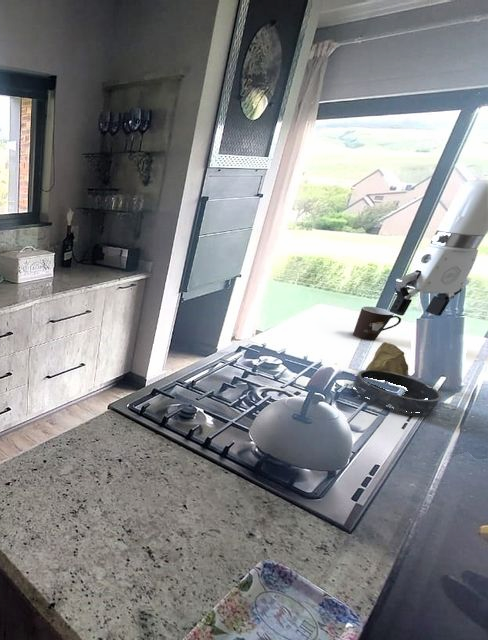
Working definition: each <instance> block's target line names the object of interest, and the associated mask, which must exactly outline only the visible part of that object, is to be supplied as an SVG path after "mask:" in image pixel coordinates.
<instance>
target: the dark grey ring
mask: <svg viewBox="0 0 488 640" xmlns="http://www.w3.org/2000/svg"><path fill="white" fill-rule="evenodd" d="M364 377H368V378H373V379H377V380H385V381H388V382H390V383H393V384H396V385H401V386H404V387H406V388H407V390H408V391H406V392H405V394H404V395H402V396H399V395H396V394H392V393H390V392H388V391H386V390H385V389H383V388H380V387H378V386H376V385H373V384H370V383H369V382H366V381H365V380H364V379H363V378H364ZM352 385H353V387H355V388H356V389H357V390H358V392H359V393H357V392H356V391H355V390H354V389H353V387H352ZM350 391H351V392H352V394H353V395H354V396H356V397H357V398H359V399H360V400H361V401H363V402H365V403H367V404H368V405H371V406H373V407H376V408H378V409H381V410H384V411H387V412H391V413H393V414H398V415H402V416H408V417H428V416H430V415H431V414H432V413H433V412H434V410H436V407H437V406H438V405H439V404H440V401H442V400H443V396H442V393H440V392H439V391H438V390H437V389H436V388H434V387H433V386H431V385H429V384H427V383H425V382H423V381H420V380H419V379H415V378H413V377H410V376H408V377H407V376H404V375H400V374H396V373H392V372H386V371H380V370H366V369H363V370H360V371H359V372H358V373H357V374H356V377H355V378H354V380H353V381H352V383H351V386H350ZM365 397H368V398H370V400H369V399H367V398H365ZM425 398H428V400H424V399H425ZM388 404H391V405H392V406H393V407H394V409H393V408H389V407H386V405H388ZM406 411H407V412H406ZM411 412H412V413H411ZM413 412H414V413H413ZM415 412H420V413H415Z"/></svg>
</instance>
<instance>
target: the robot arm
mask: <svg viewBox="0 0 488 640" xmlns="http://www.w3.org/2000/svg"><path fill="white" fill-rule="evenodd" d="M487 233H488V180H487V179H472V180H468V181H466V182H464V183H463V184H462V185H460V187H459V189H458V190H457V193H456V194H455V196H454V198H453V200H452V202H451V204H450V206H449V207H448V209H447V211H446V212H445V215H444V217H443V219H442V220H441V222H440V224H439V226H438V228H437V230H436V231H435V232H434V235H433V237H432V239H431V240H430V242H429V244H428V245H427V246H426V248H425V249H424V250H423V252H422V253H421V254H420V255H419V257H418V258H417V260H416V261H415V263H414V264H413V266H412V268H411V269H410V271H409V273H408V274H406V275H403V276H401V277H399V278H397V279H396V280H395V288H394V291H395V299H394V301H393V302H392V304H391V306H390V308H389V309H388V310H389V311H390V312H392V313H394V315H396V316H399V317H401V316H404V315H405V314H406V312H407V310H408V308H409V307H410V305H411V303H412V298H413V297H414V296H415V295H417V294H419V293H420V292H421V293H423V294H436V295H434V296H432V299H431V300H430V302H429V304H428V305H427V307H426V309H425V313H427V314H431V315H434V316H436V317H438V316H439V317H441V316H442V315H443V313H444V311H445V310H446V308H447V306H448V304H449V303H450V301H452V300H454V299H455V297H456V295H458V294H459V293H461V292H462V290H463V289H464V288H465V287H466V286H467V285H469V283H470V280H469V279H468V277H469V274H470V272H471V270H472V269H473V267H474V264H475V262H476V259H477V256H478V252H479V250H478V248H479V246H480V245H481V243H482V242H483V240H484V238H485V237H486V235H487Z"/></svg>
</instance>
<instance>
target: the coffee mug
mask: <svg viewBox="0 0 488 640" xmlns="http://www.w3.org/2000/svg"><path fill="white" fill-rule="evenodd" d="M389 310H390V309H385V308H381V307H377V306H376V307H375V306H368V305H367V306H362V307H361V309H360V312H359V315H358V318H357V321H356V324H355V327H354V330H353V333H352V336H353V337H354V338H358V339H361V340H364V341H370V342H371V341H376V340H377V338H378V337H379V335H380V334H381V333H382V332H383V331H387V330H389V329H392V328H394V327H397V326H398V325H400V323H402V318H401V316H399V315H395V314H394V313H392V312H390V311H389ZM393 318H395V319H396V318H397V319H398V321H397V322H396V323H394V324H393V325H390V326H388V327H386V326H387V324H388V323H389V322H390V320H392V319H393Z"/></svg>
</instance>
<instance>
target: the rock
mask: <svg viewBox="0 0 488 640" xmlns="http://www.w3.org/2000/svg"><path fill="white" fill-rule="evenodd" d="M365 370H380V371H386V372H392V373H396V374H400V375H404V376H407V377H409V364H408V363H407V360H406V357H405V352H404V351H402V350H401V348H399V347H398V346H397V345H395V344H393V343H390V342H389V343H388V342H382V343H381V344H380V346H379V347H377V350H375V353H374V355H373V357H372V360H371V361H370V363H369V364H368V365H367V366H366V368H365Z"/></svg>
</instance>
